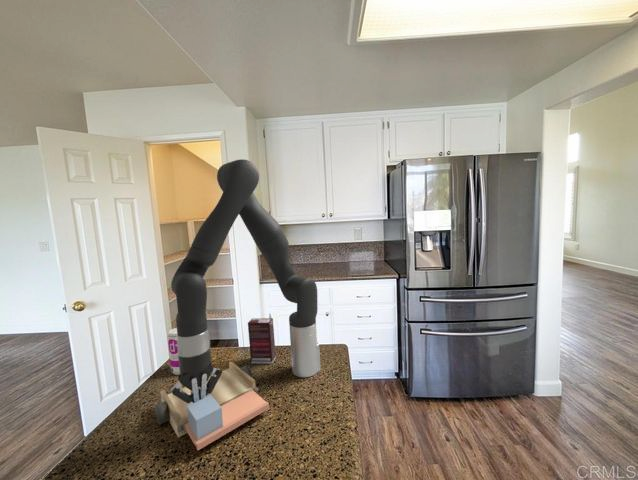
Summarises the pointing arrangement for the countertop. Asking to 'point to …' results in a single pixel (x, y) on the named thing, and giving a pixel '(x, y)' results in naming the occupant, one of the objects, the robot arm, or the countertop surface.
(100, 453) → the countertop surface
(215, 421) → the blue gray block
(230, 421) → the pink rectangular board
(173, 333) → the supplement can
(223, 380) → the flatbed
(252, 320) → the supplement box
